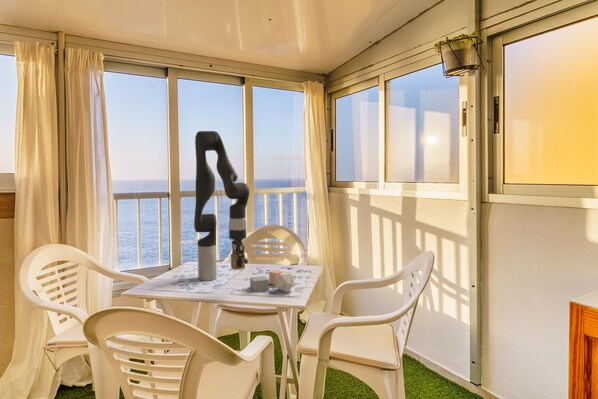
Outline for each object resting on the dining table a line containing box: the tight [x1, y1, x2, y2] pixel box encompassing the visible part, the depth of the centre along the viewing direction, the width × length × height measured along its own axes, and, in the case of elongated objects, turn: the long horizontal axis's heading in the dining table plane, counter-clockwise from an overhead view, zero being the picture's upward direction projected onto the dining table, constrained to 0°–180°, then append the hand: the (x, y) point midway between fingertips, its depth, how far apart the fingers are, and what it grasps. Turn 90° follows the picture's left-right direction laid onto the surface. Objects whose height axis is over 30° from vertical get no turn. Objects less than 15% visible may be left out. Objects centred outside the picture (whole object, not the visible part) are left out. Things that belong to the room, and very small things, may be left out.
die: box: [274, 271, 296, 293], centre depth 169 cm, size 8×9×10 cm
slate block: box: [249, 275, 270, 293], centre depth 172 cm, size 7×7×5 cm
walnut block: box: [230, 253, 246, 270], centre depth 165 cm, size 5×5×6 cm
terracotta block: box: [268, 269, 284, 287], centre depth 180 cm, size 5×5×6 cm
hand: (237, 265), depth 165 cm, fingers closed on walnut block, 5 cm apart
